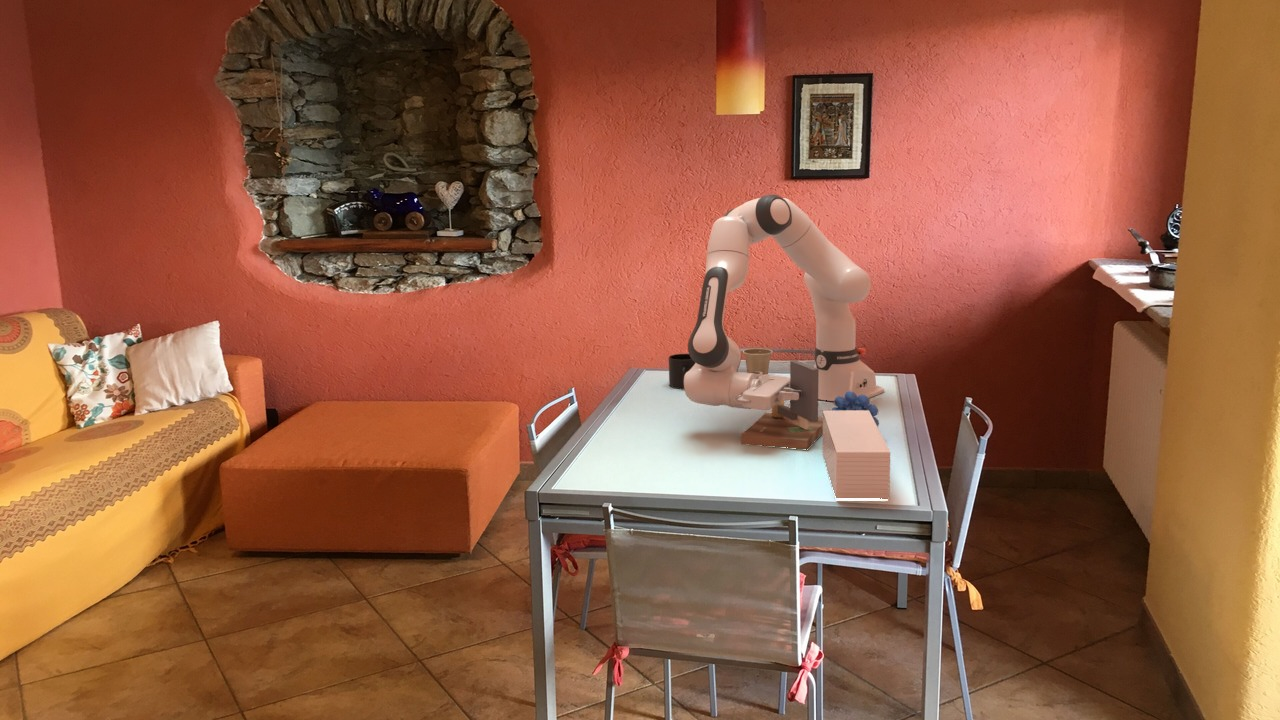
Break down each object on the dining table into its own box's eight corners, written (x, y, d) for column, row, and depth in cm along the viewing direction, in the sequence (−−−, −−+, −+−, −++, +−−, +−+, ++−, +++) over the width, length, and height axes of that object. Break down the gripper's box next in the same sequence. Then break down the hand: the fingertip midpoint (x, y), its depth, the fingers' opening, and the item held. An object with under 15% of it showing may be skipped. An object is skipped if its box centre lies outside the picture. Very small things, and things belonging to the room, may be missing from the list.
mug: (668, 391, 292) (667, 362, 290) (669, 381, 303) (669, 353, 301) (699, 390, 291) (699, 361, 289) (699, 381, 303) (699, 353, 301)
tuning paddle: (769, 414, 252) (769, 354, 248) (780, 413, 253) (780, 353, 249) (809, 435, 233) (809, 370, 229) (820, 433, 234) (821, 368, 230)
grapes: (832, 443, 236) (832, 395, 233) (830, 435, 242) (830, 388, 240) (880, 443, 234) (881, 395, 232) (877, 435, 241) (878, 388, 238)
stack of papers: (889, 502, 196) (890, 452, 194) (835, 502, 197) (836, 452, 195) (868, 454, 227) (869, 410, 225) (822, 454, 228) (822, 410, 226)
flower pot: (778, 376, 305) (778, 350, 304) (761, 382, 299) (761, 355, 297) (754, 373, 312) (753, 347, 310) (736, 378, 305) (736, 352, 303)
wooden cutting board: (766, 421, 256) (766, 411, 255) (828, 427, 249) (828, 417, 248) (741, 443, 237) (741, 433, 236) (806, 450, 230) (807, 439, 230)
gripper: (732, 388, 230) (788, 392, 225) (758, 369, 248) (811, 373, 243) (732, 413, 232) (788, 418, 226) (758, 393, 250) (810, 398, 244)
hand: (800, 395), depth 234 cm, fingers closed
